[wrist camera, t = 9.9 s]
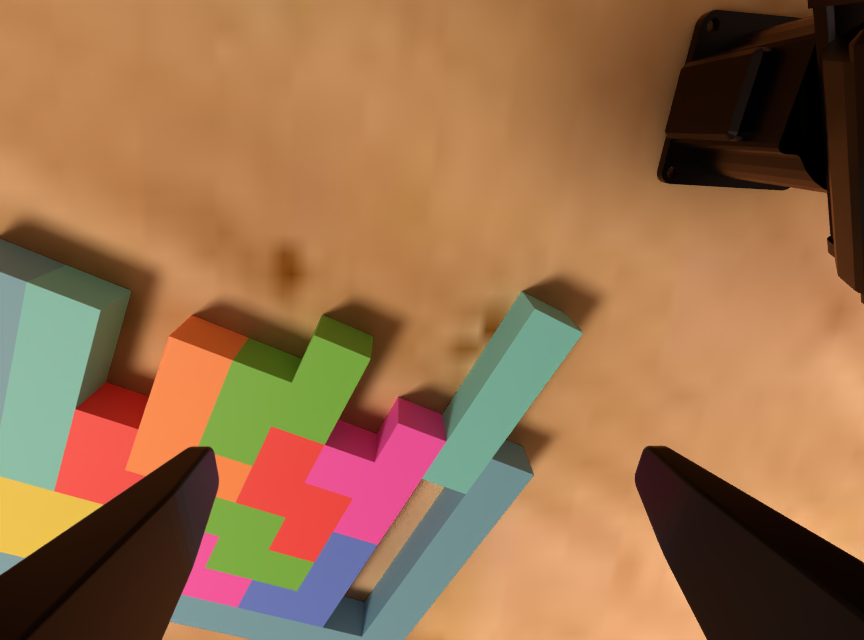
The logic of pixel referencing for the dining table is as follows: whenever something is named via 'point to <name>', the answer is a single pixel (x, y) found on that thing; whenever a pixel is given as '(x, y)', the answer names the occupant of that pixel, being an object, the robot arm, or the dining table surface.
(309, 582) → the tetris game
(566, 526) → the dining table surface
